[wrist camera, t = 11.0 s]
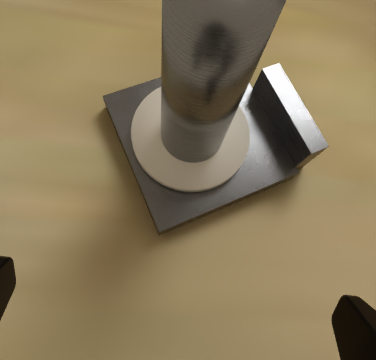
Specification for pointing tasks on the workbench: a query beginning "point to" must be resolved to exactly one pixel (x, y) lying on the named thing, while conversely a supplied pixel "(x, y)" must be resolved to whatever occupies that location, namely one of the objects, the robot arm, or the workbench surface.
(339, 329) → the robot arm
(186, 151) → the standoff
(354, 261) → the workbench surface
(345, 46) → the workbench surface
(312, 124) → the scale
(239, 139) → the pan
